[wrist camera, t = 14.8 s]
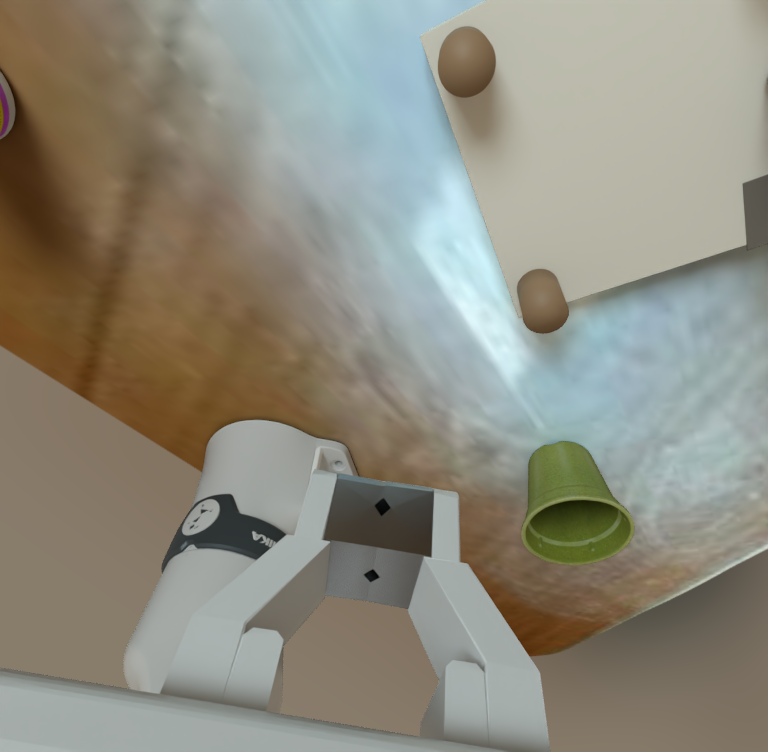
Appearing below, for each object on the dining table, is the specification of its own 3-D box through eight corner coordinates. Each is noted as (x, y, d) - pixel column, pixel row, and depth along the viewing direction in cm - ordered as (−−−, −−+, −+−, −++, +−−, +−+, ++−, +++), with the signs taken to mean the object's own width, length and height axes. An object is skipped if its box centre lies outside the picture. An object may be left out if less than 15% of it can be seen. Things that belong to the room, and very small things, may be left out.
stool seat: (809, 210, 36) (870, 247, 31) (516, 306, 42) (526, 350, 37) (809, -173, 25) (901, -214, 20) (421, 33, 32) (416, 42, 27)
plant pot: (540, 414, 49) (555, 485, 42) (629, 444, 50) (658, 517, 43) (496, 477, 54) (502, 548, 48) (577, 502, 56) (595, 576, 49)
